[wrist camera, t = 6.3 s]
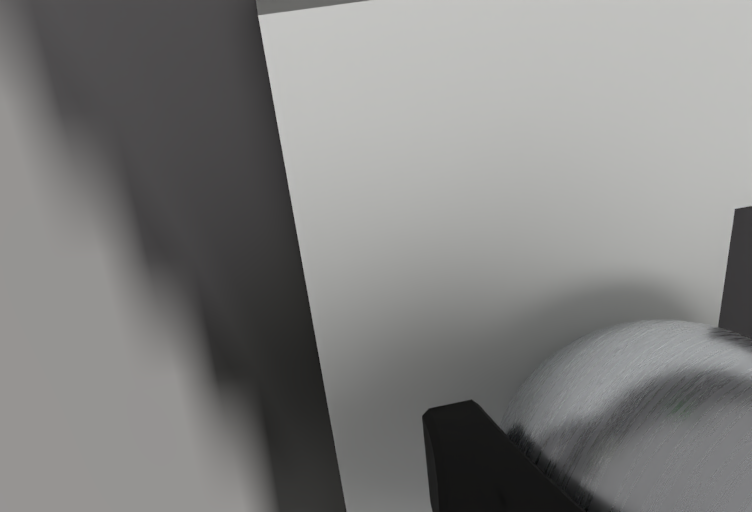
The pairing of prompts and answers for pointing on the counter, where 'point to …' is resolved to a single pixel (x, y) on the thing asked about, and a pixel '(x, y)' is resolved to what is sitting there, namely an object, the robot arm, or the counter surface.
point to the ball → (643, 418)
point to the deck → (497, 194)
